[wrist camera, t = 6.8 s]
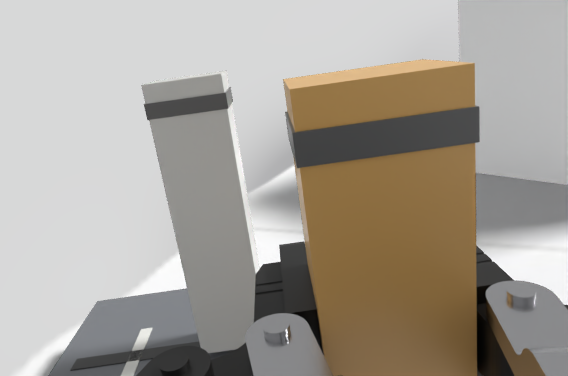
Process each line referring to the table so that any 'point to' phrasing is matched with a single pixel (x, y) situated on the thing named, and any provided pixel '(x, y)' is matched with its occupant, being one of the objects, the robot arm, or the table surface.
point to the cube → (519, 85)
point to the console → (130, 335)
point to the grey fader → (207, 202)
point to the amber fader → (390, 214)
